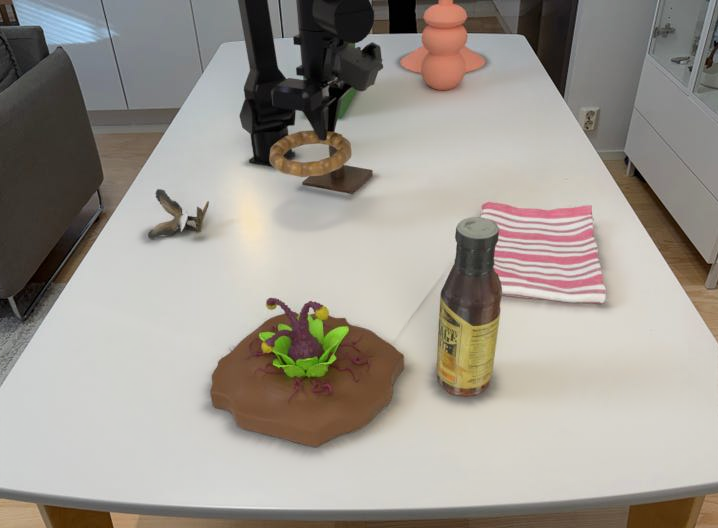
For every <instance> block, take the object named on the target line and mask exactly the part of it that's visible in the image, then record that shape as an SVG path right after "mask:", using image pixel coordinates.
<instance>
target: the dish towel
mask: <svg viewBox="0 0 718 528" xmlns="http://www.w3.org/2000/svg"><path fill="white" fill-rule="evenodd" d="M592 209H593V207H592V205H591V204H586V205H579V206H575V207H561V208H555V209H542V208H525V207H517V206H512V205H509V204H506V203H500V202H493V201H488V202H484V203H482V205H481V212H480V215H479V217H482V218H486V219H490V220H492V221H494V222H495V223H496V224H497V226H498V227H499V237H498V242H497V244H496V245H495V254H494V262H495V264H494V267H493V269H494V270H495V272H496V273H497V274H498V276H499V279H500V282H501V286H502V295H501V296H507V297H516V298H517V297H518V298H525V299H535V300H542V301H543V300H546V301H553V302H563V303H581V304H582V303H583V304H598V305H599V304H600V305H602V304H604V303H605V301H606V297H607V293H606V292H607V288H606V286H605V283H604V280H603V271H602V266H601V263H600V259H599V256H598V255H599V250H598V244H597V242H596V237H595V235H594V234H595V233H594V231H595V222H594V220H595V219H594V216H593V210H592Z"/></svg>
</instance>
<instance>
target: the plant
mask: <svg viewBox="0 0 718 528" xmlns="http://www.w3.org/2000/svg"><path fill="white" fill-rule="evenodd" d="M265 306H266V308H267V309H268V310H271V311H272V310H275V309H276V308H277V307H278V306H279V307H280V309H281V310H283V311H284V313H281V314H278V315H275V316H272V317H270V318H268V319H267V320H265V321H264V322H263V323H262V324H260V325H259V326H258V327H257V328H256V329H255V330H253V331H251V333H249V334H247V336H245V337H243V339H242V340H241V341H239V343H238V344H237V345H236V346H235V347H234V348H232V350H230V352H229V353H227V354H226V355H224V356H223V357H221V358H220V359H219V360H218V361H217V365H216V367H215V369H214V370H213V372H212V374H211V382H212V384H211V388H210V392H209V394H210V398H211V403H212V407H213V408H215V409H221V410H225V411H227V412H229V414H231V415H232V416H233V418H234V421H235V424H236V426H237V427H239V428H241V429H243V430H245V431H250V432H255V433H260V434H262V435H266V436H267V435H268V436H272V437H276V438H280V439H284V440H287V441H290V442H293V443H297V444H301V445H304V446H308V447H314V448H315V447H319V446H321V445H323V444H325V443H327V442H329V441H331V440H333V439H335V438H337V437H339V436H341V435H345V434H348V433H353V432H355V431H357V430H359V429H360V428H362V427H364V426H366V425H367V424H368V423H370V422H371V421H372V420H373V418H375V416H376V415H378V414H379V413H380V411H382V410H383V409H384V408H385V407H386V406H387V405H388V404H389V403H390V402H391V400H392V398H393V385H394V382H395V381H396V379H397V378H398V377H399V375H400V374H401V373H402V372H403V370H404V369H405V358H404V354H403V353H402V352H400V351H399V350H398V349H397V348H396V347H395V346H394V345H392V344H390V342H388V341H387V340H384V339H383V338H382V337H380V336H379V335H378V334H376V332H374V331H372V330H370V329H368V328H366V327H361V326H357V325H352V324H351V323H349V322H348V320H347V318H346V317H334V316H331V315H330V311H329V308H327V307H326V306H325V305H324V304H321V303H320V302H317V301H312V300H309V301H308V302H306V303H304V305H303V306H302V308H301V309H300V312H299V313H297V312H296V311H293V310H291V307H289V305H288V304H286V303H285V302H284V301H282V300H280V299H279V298H277V297H269V298H267V299H266V301H265ZM310 308H311V309H312V310H313V313H311V314H310V313H309V312H310Z"/></svg>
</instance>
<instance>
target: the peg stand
mask: <svg viewBox="0 0 718 528" xmlns="http://www.w3.org/2000/svg"><path fill="white" fill-rule="evenodd" d="M339 134H340V135H341V136H343V134H341V133H339ZM337 151H338V149H336V148H335V147H333V146H330V145H328V157H331V156H333V155H334V154H335V153H336V152H337ZM373 173H374V172H373V169H369V168H363V167H359V166H358V167H357V166H352V165H346V164H344V165H343V166H342V167H341V168H340V169H337V170H335V171H332V172H329V173H327V174H324V175H320V176H308V177H306V178H305V179H304V180H303V181H302V182H301V183H302V186H305V187H312V188H317V189H322V190H327V191H332V192H338V193H344V194H348V195H354V194H355V193H356V192H357V191H358V190H359V189H360V188H362V186H364V185H365V184H366V183H367V182H368V181H370V179H372V177H373Z"/></svg>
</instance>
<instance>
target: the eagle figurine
mask: <svg viewBox="0 0 718 528" xmlns="http://www.w3.org/2000/svg"><path fill="white" fill-rule="evenodd" d="M155 198H156V200H157V202H159V205H161V207H162V208H163V210H164V211H165V212H166V213H168V214H169V215H171V216H172V217H173V219H171V220H167V221H164V222H159V223H158V224H156V225H155V227H154V228H153V229H151V230H149V231H148V233H147V235H148V236H147V237H148V238H149V239H155V238H157V237H163V236H164V237H170V236H172V235H174V234H175V232H176V231H177V229H180V232H181V233H182V232H183V230H184V229H185V230H188V231H192V232H195V233H196V234H200V233H201V232H202V231H201V230H202V227H203V220H204V219H205V216H206V214H207V212H208V209H209V206H210V205H209V204H210V201H209V200H207V201H206V203H205V205H204V207H203V209H202V208H201V207H199V206H196V216H192V215H189V213H188V211H187V210H185V211H184V210H183V207H182V206H181V205H180V204H179V203H178V202H177V201H176V200H173V199H171V197H170V196H169V195H168V194H167V193H166V190H164V189H161V188H160V189H159V188H157V189H156V190H155ZM183 211H184V213H183ZM192 221H194V223H195V227H194V226H193V225H191V224H189V223H188V222H192Z"/></svg>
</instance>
